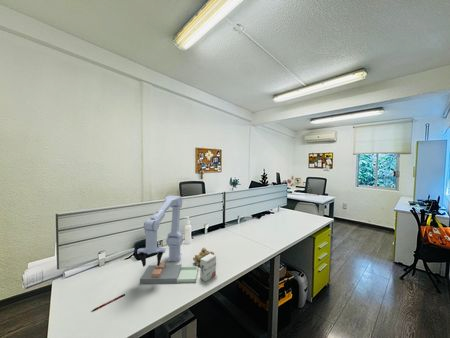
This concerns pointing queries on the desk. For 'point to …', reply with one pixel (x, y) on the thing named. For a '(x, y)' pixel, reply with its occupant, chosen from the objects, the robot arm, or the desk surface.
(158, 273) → the tile
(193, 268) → the tray
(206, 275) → the ink box
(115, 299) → the pencil
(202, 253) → the mineral formation
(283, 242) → the desk surface
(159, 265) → the tile
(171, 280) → the board
